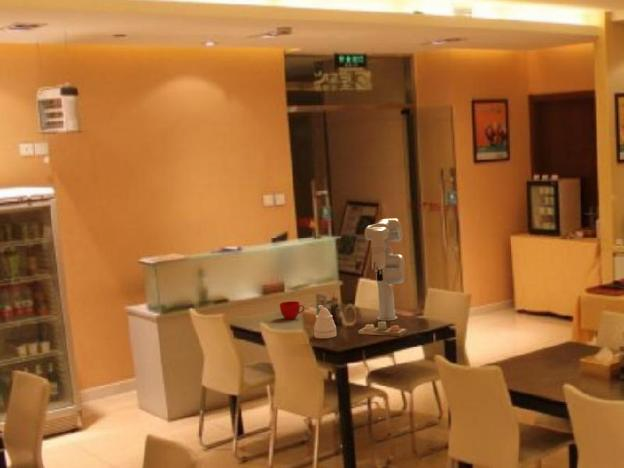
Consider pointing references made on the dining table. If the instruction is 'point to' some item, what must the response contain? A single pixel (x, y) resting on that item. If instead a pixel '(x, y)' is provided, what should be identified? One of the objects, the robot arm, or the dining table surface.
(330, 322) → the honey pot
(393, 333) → the wooden panel frame
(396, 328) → the button three
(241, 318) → the dining table surface
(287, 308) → the ceramic cup
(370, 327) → the button one
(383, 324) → the button two
